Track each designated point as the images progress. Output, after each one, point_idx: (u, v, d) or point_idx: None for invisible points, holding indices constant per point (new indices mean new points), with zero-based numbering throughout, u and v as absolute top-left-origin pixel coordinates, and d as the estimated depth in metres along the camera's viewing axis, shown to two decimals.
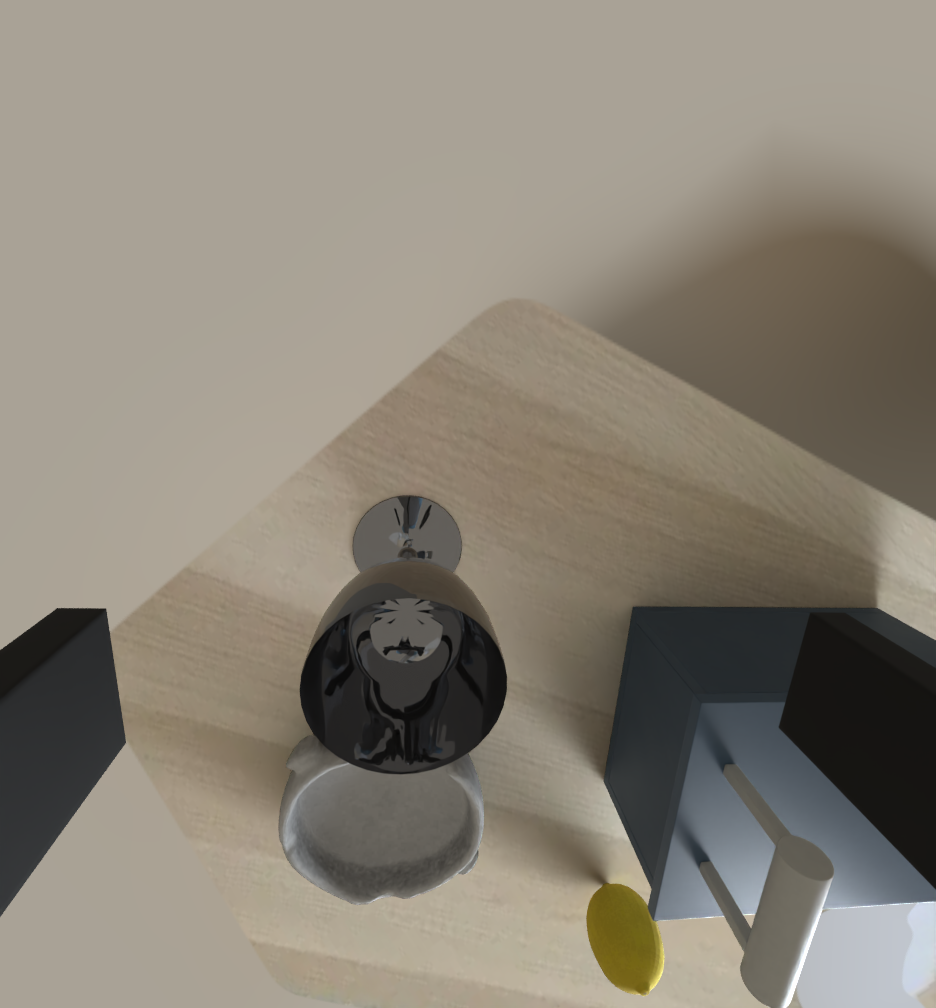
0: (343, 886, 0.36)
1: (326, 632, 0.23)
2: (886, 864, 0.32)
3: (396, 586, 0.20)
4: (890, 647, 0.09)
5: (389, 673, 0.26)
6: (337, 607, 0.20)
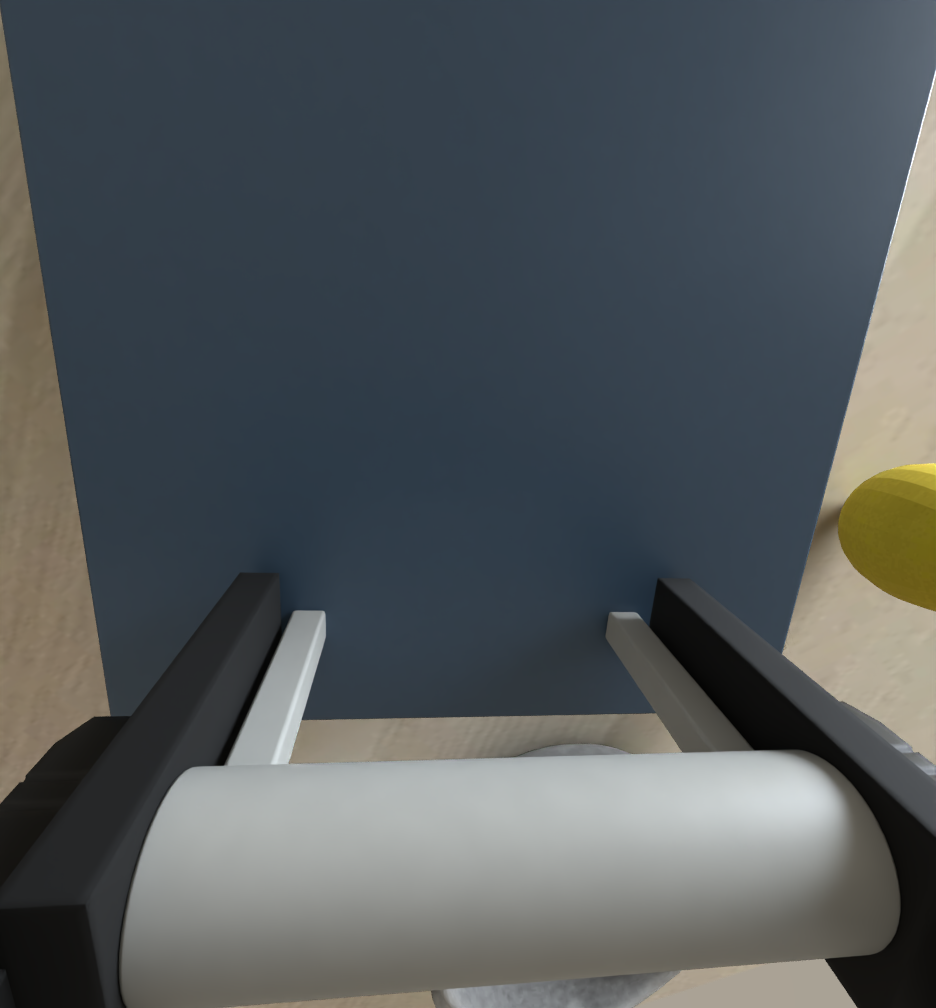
0: None
1: None
2: None
3: None
4: (711, 605, 0.10)
5: None
6: None
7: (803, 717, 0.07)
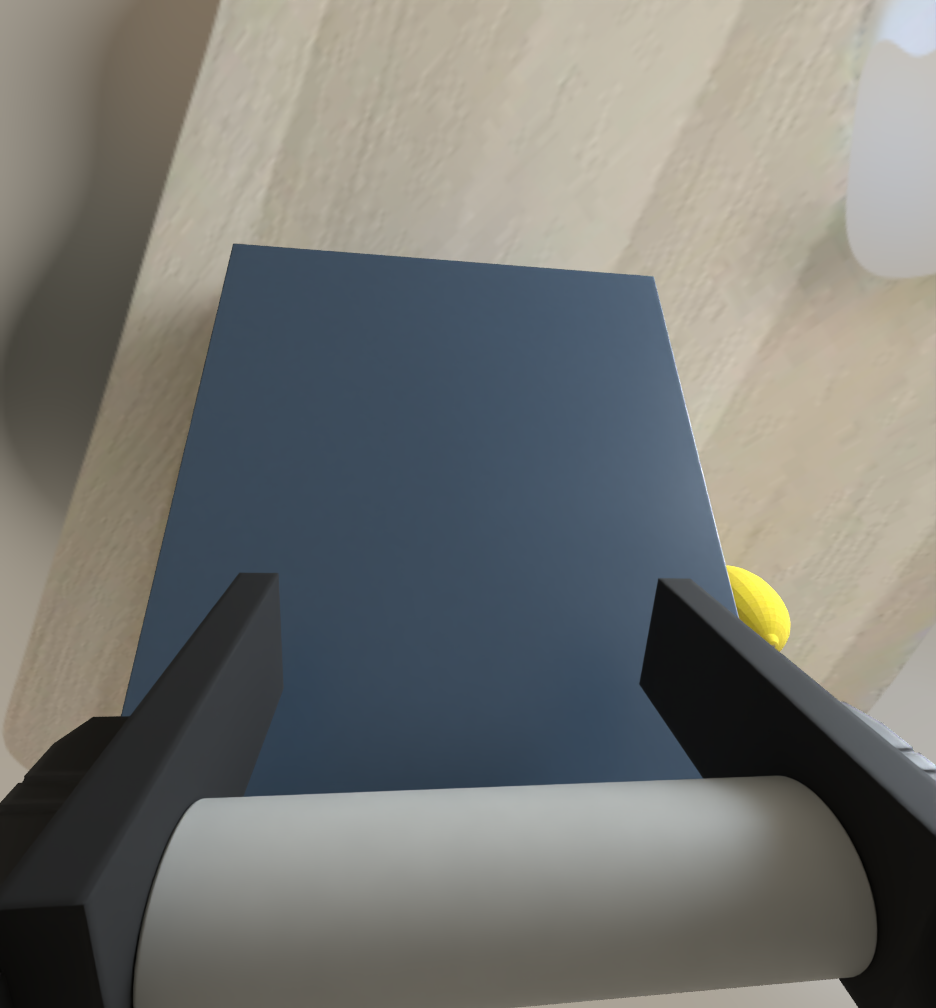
0: None
1: None
2: (583, 391, 0.17)
3: None
4: (712, 605, 0.10)
5: None
6: None
7: (804, 717, 0.07)
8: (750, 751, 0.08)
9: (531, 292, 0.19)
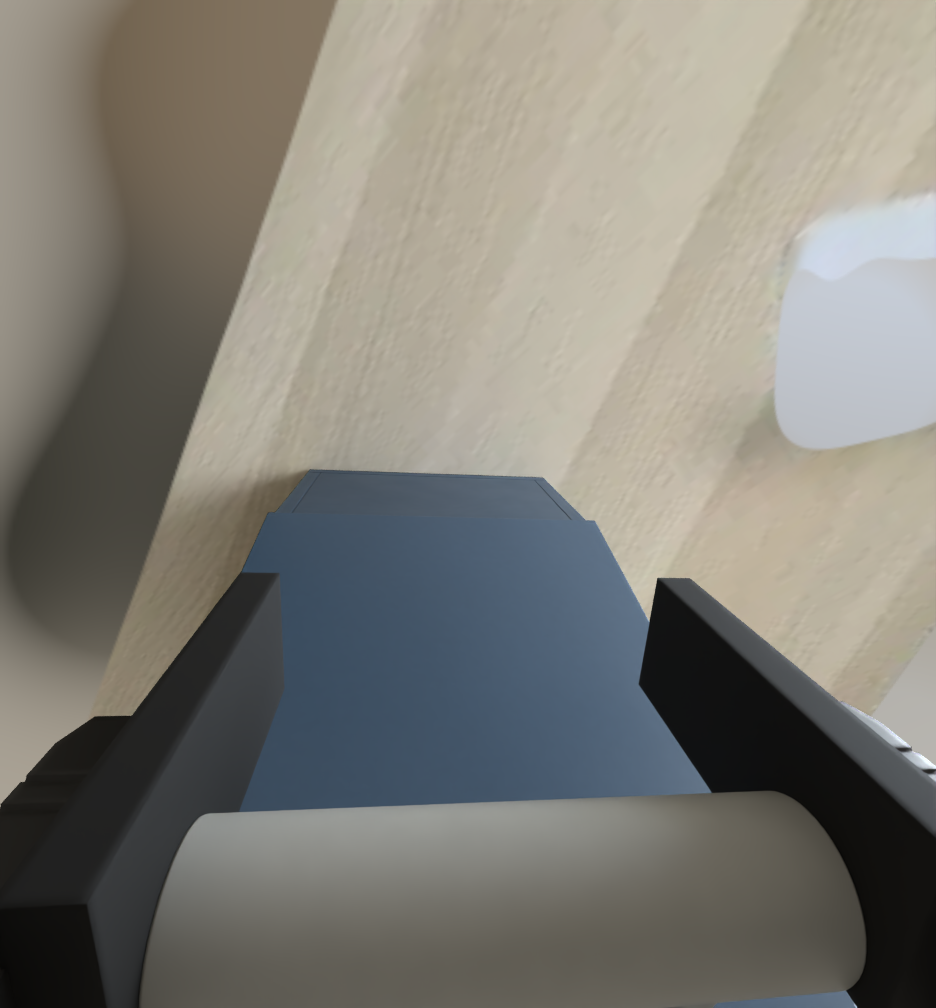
0: None
1: None
2: (550, 597, 0.20)
3: None
4: (711, 605, 0.10)
5: None
6: None
7: (803, 717, 0.07)
8: (749, 751, 0.08)
9: (500, 533, 0.24)
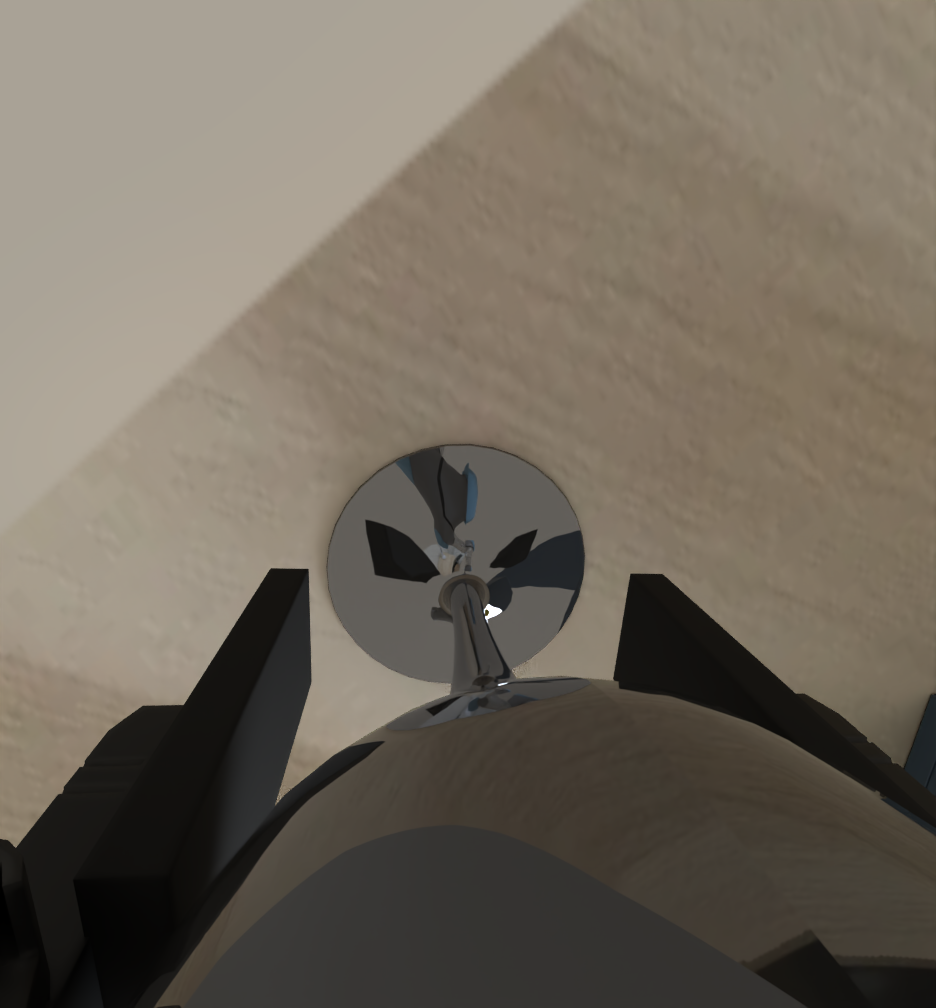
0: None
1: None
2: None
3: None
4: (680, 600, 0.10)
5: None
6: None
7: (758, 708, 0.07)
8: None
9: None
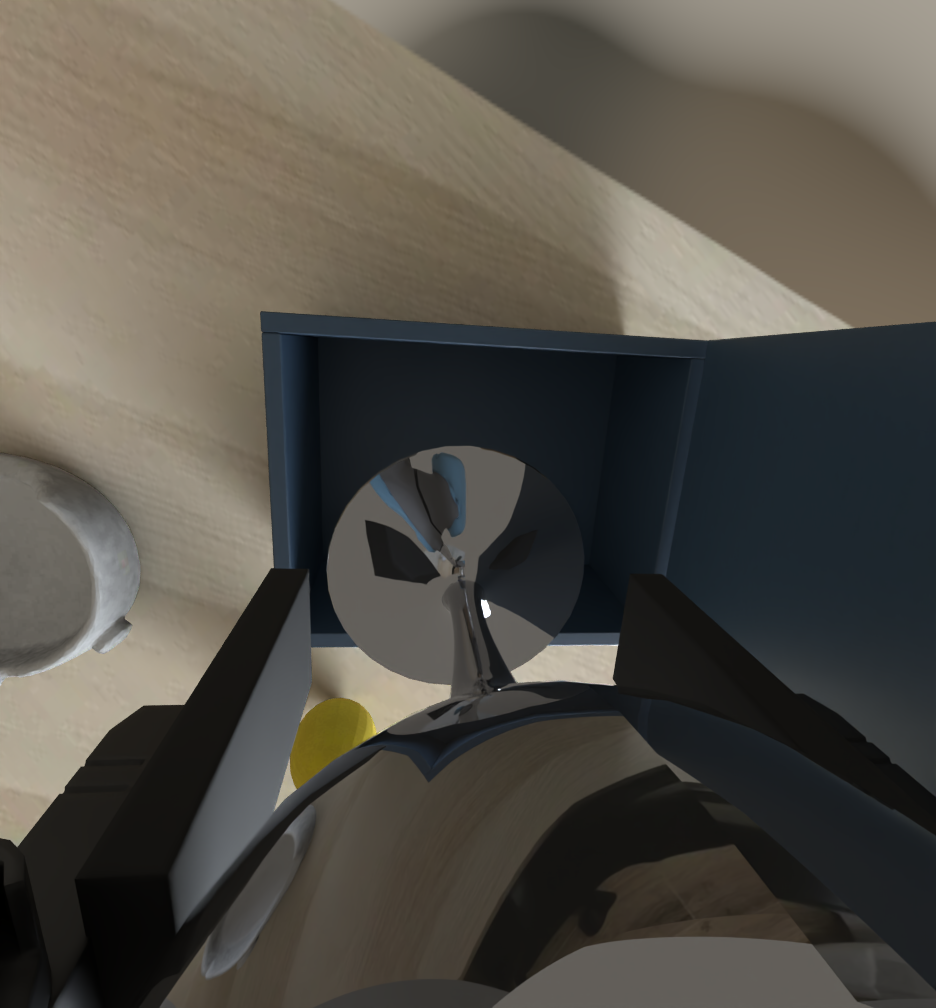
0: None
1: None
2: None
3: None
4: (679, 599, 0.10)
5: None
6: None
7: (757, 707, 0.07)
8: None
9: None
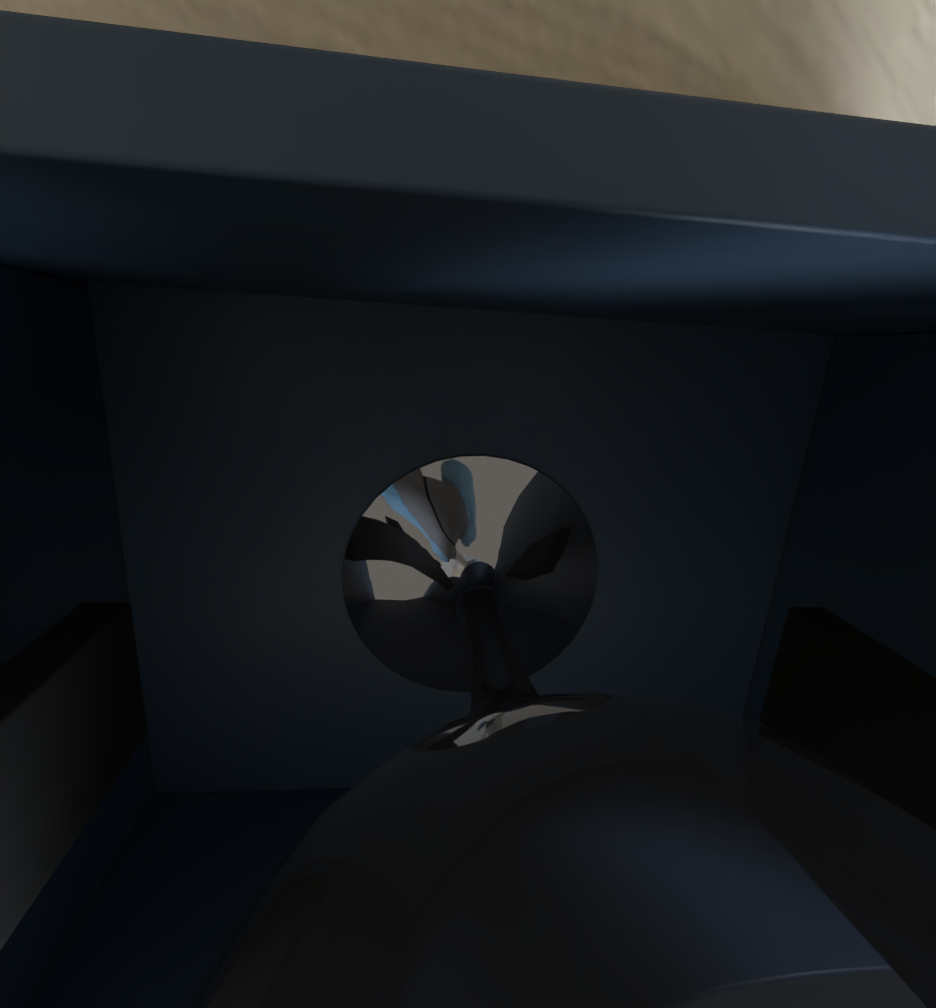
0: None
1: None
2: None
3: None
4: (865, 640, 0.09)
5: None
6: None
7: None
8: None
9: None
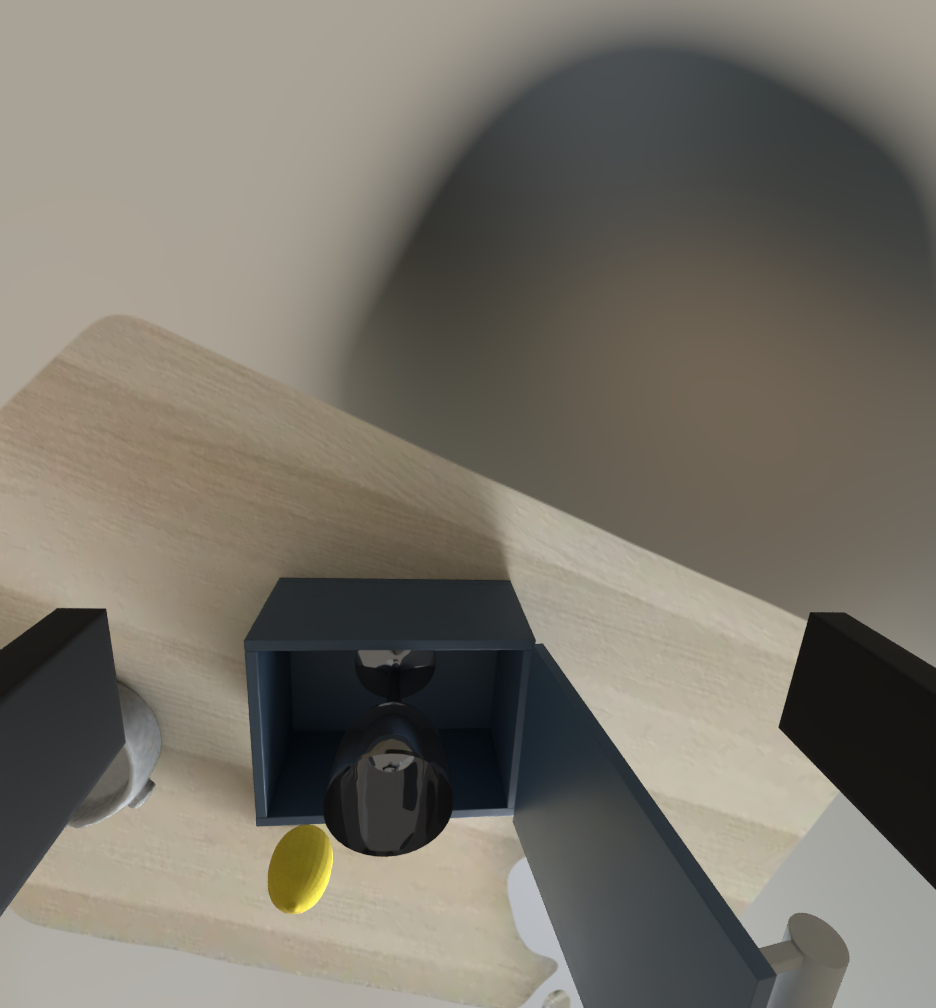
0: None
1: None
2: None
3: (382, 741, 0.31)
4: (890, 647, 0.09)
5: (380, 777, 0.37)
6: (346, 753, 0.32)
7: None
8: None
9: None
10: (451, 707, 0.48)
